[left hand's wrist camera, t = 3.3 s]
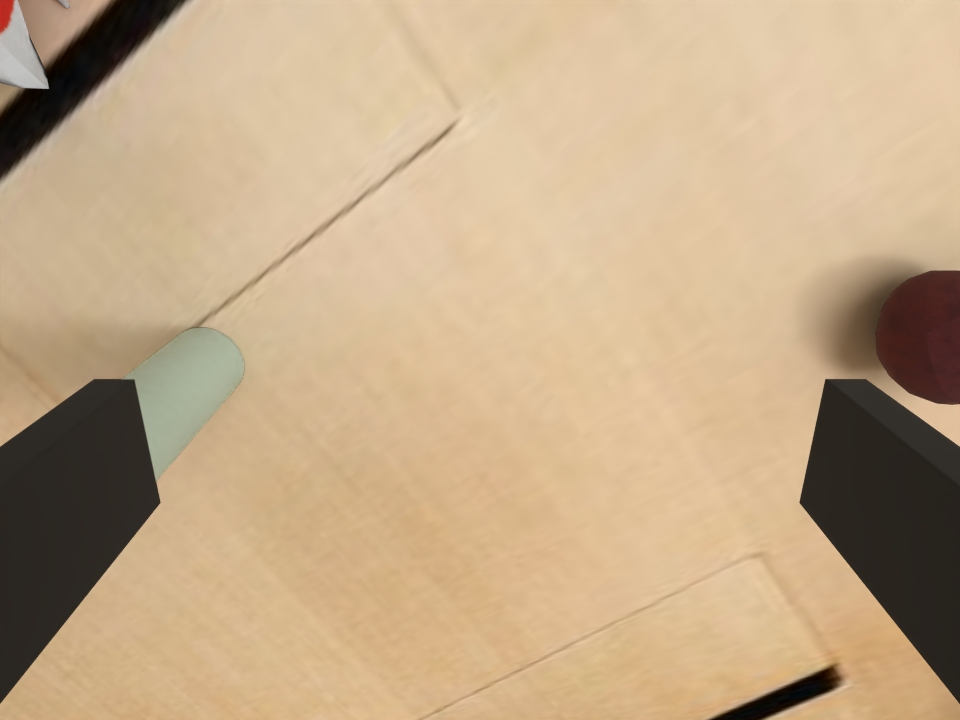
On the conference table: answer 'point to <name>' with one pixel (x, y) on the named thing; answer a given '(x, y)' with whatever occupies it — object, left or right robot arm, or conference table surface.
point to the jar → (184, 389)
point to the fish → (19, 49)
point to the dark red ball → (923, 336)
